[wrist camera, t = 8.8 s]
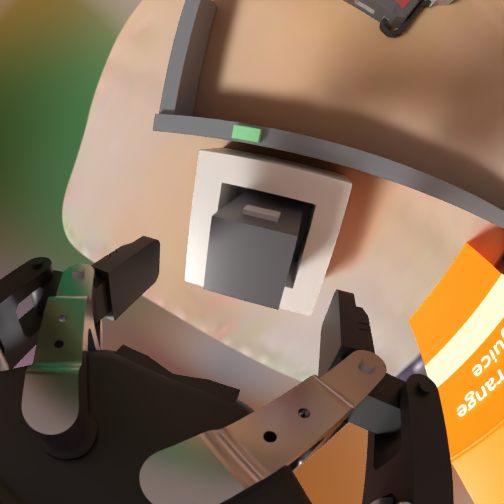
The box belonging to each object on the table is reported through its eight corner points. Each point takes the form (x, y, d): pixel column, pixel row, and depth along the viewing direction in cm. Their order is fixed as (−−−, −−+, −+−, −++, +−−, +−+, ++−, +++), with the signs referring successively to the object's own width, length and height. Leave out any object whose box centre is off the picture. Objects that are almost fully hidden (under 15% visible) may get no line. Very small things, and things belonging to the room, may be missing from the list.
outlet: (344, 175, 18) (352, 184, 14) (312, 284, 22) (310, 316, 18) (223, 147, 20) (199, 149, 15) (207, 255, 23) (184, 280, 19)
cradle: (551, 133, 11) (577, 137, 7) (528, 240, 16) (551, 257, 12) (203, 7, 15) (181, -13, 11) (176, 130, 20) (147, 130, 16)
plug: (305, 196, 19) (299, 231, 12) (292, 250, 21) (278, 309, 14) (250, 184, 20) (212, 210, 13) (241, 237, 22) (203, 289, 14)
